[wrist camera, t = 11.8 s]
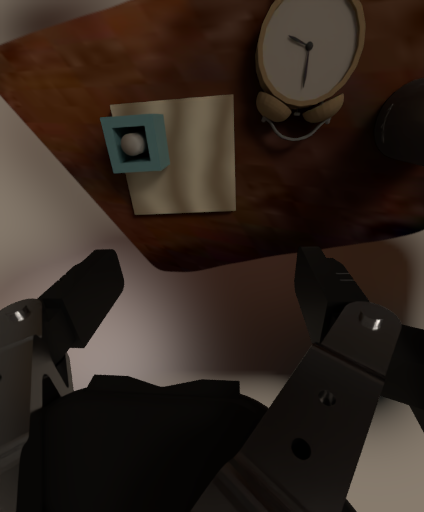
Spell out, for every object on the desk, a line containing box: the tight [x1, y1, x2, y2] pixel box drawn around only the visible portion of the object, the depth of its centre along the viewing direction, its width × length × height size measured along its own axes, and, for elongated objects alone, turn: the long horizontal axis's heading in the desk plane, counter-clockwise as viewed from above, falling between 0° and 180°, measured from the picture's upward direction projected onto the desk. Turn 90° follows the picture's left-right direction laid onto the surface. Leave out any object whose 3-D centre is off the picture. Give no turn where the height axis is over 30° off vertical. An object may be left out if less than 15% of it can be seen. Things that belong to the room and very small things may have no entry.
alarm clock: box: [255, 0, 366, 141], centre depth 29 cm, size 11×5×15 cm
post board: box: [110, 94, 236, 215], centre depth 33 cm, size 16×15×8 cm
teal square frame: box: [100, 114, 170, 173], centre depth 31 cm, size 6×6×5 cm
